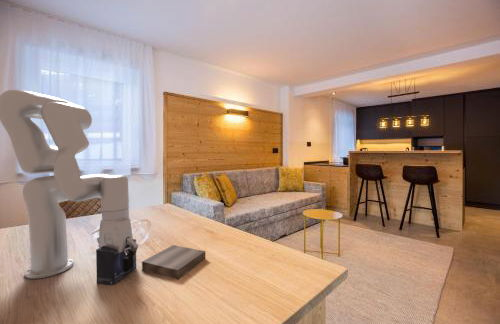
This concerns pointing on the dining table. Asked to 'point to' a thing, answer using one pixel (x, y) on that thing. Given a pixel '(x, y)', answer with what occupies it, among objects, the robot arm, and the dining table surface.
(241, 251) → the dining table surface
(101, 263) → the small box
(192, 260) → the plinth
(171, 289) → the dining table surface
